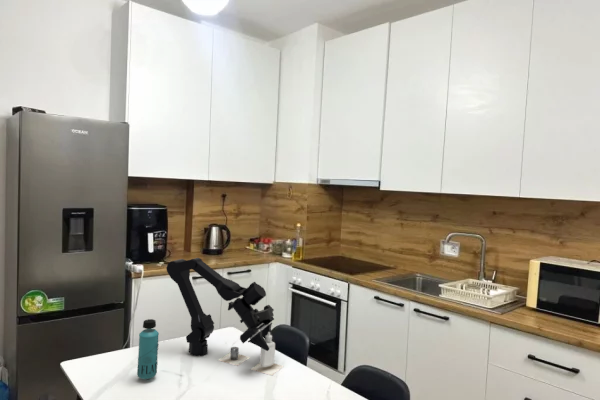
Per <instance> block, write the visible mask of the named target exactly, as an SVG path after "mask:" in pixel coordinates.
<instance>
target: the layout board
mask: <svg viewBox="0 0 600 400" xmlns="http://www.w3.org/2000/svg"><path fill="white" fill-rule="evenodd" d="M230 354H231V351H230V352H229V353H227V354H226V355H224V356H222V357H220V358H219V359H217V361H219V362H223V363H226V364H230V365H233V366H237V367H238V366H240V365H241V364H243V363H244V362H246V361H247V360H249V359H250V358H251V356H247V355H243V354H239V353H238V360H231V359H230ZM282 368H284V365H282V364H278V363H275V362H274V364H273V365H271V366H268V367H263V366H261V365H260V362H259V363H257V364H256V365H255V366H253V367H252V368H250V371H255V372H258V373H262V374H265V375H269V376H274V375H275V374H277V372H279V371H280V370H281V369H282Z"/></svg>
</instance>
